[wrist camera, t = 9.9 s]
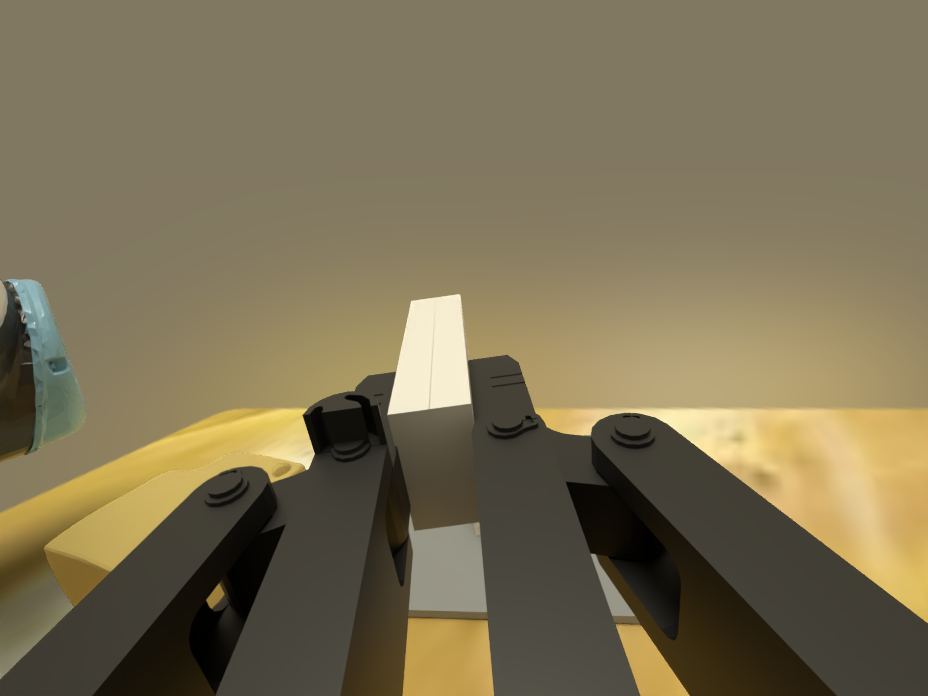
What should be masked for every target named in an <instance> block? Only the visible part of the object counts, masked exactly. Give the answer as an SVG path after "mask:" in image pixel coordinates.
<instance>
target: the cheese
mask: <svg viewBox="0 0 928 696" xmlns="http://www.w3.org/2000/svg"><path fill="white" fill-rule="evenodd" d="M245 466H255V467H260V468H262V469H263V470H265V471H266V472H267V473H268V475H269V478H270V481H271V483H272V482H275V481H278V480H281V479H284V478H287V477H290V476H293V475H296V474H298V473H301V472H303V471H306V469H305V467H304V465H302V464H300V463H294V462H291V461H286V460H281V459H276V458H272V457H267V456H262V455H256V454H248V453H241V452H231V453H228V454H225V455H223V456H222V457H220V458H218V459H217V460H215V461H213V462H211V463H209V464H207V465H205V466H202V467H200V468H197V469H194V470H190V471H180V470H172V471H167V472H164V473H162V474H160V475H158V476H156V477H154V478H152V479H151V480H149V481H147V482H145V483H144V484H142V485H140V486H139V487H137V488H135V489H133V490H132V491H130V492H128V493H126V494H125V495H123V496H121V497H119V498H117V499H115V500H114V501H112V502H110V503H108V504H107V505H105V506H103V507H101V508H99V509H98V510H96V511H94V512H93V513H91V514H89V515H88V516H86V517H85V518H83V519H81V520H80V521H78V522H77V523H75V524H74V525H72V526H71V527H70V528H68V529H67V530H65V531H64V532H62V533H61V534H60V535H58V536H57V537H56V538H54V539H53V540H52V541H50V542H49V543H48V544H47V545H46V546H45V547H44V552H45V554H46V557H47V560H48V562H49V565H50V567H51V569H52V571H53V573H54V575H55V577H56V579H57V581H58V583H59V585H60V586H61V588H62V590H63V591H64V593H65V594H66V596H67V597H68V599H69V600H70V602H71V603H72V604H73V605H74V607H75V606H76V605H77V604H78V603H79V602H80V601H81V600H82V599H83V598H84V597H85V596H86V595H87V594H88V593H89V592H90V591H92V590H93V589H94V588H95V587H96V586H97V585H98V584H99V583H100V582H101V581H102V580H103V579H104V578H105V577H106V576H107V575H108V574H109V573H110V572H111V571H112V570H113V569H114V568H115V567H116V566H117V565H118V564H119V563H120V562H121V561H122V560H123V559H124V558H125V557H126V556H127V555H128V554H129V553H130V552H131V551H132V550H133V549H135V548H136V547H137V546H138V545H139V544H140V543H141V542H142V541H143V540H144V539H145V538H146V537H147V536H148V535H149V534H150V533H151V532H152V531H153V530H154V529H155V528H156V527H157V526H158V525H159V524H160V523H161V522H162V521H163V520H164V519H165V518H166V517H167V516H168V515H169V514H170V513H171V512H172V511H173V510H174V509H175V508H177V507H178V506H179V505H180V504H181V503H182V502H183V501H184V500H185V499H186V498H187V497H188V496H189V495H190V494H191V493H192V492H193V491H194V490H195V489H196V488H198V487H199V486H200V485H201V484H203V483H204V482H205V481H207V480H208V479H210V478H212V477H214V476H216V475H218V474H219V473H220V472H223V471H226V470H230V469H232V468H236V467H245ZM223 596H224V592H223V590H222V588H221V586H220V584H218V585H217V587H216V588H215V589H214V591H213V592H212V593H211V595H210V596H209V597H208V598H207V600H206V601H207V603H208V605H209V607H210V608H211V609H212V608H213V607H214V606H215V605H216V604H217V603H218V602H219V601H220V600H221V598H222V597H223Z"/></svg>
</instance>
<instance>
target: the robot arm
mask: <svg viewBox="0 0 928 696" xmlns="http://www.w3.org/2000/svg"><path fill="white" fill-rule="evenodd" d="M86 417H87V410H86V406H85V403H84V400H83V397H82V394H81V391H80V388H79V385H78V382H77V379H76V376H75V373H74V371H73V368H72V365H71V362H70V359H69V356H68V354H67V351H66V348H65V345H64V343H63V340H62V337H61V334H60V332H59V329H58V326H57V323H56V321H55V318H54V315H53V312H52V310H51V307H50V304H49V302H48V299H47V296H46V294H45V291H44V289H43V287H42V286H41V285H40V283H38V282H37V281H33V280H30V279H29V280H17V279H11V280H6V281H4V283H3V282H2V281H1V279H0V463H1V462H3V461H6V460H9V459H12V458H15V457H18V456H21V455H24V454H25V455H27V454H31V453H34V452H35V451H37V450H38V449H39V447H42V446H44V445H47V444H49V443H51V442H54V441H57V440H59V439H61V438H64V437H66V436H69V435H71V434H73V433H75V432H76V431H78V430H79V429H80V428H81V427H82V425H83V424H84V422H85V420H86ZM303 418H304V421H305V424H306V427H307V430H308V433H309V437H310V440H311V443H312V446H313V449H314V452H315V455H314V458H313V460H312V463H311V465H310V467H309V469H308V470H306V471H303V472H301V473H298V474H296V475H293V476H290V477H287V478H284V479H281V480H278V481H275V482H272V483H271V481H270V478H269V475H268V473H267V472H266V471H265V470H263V469H262V468H260V467H255V466H245V467H236V468H232V469H230V470H226V471H223V472H220V473H219V474H218V475H216V476H214V477H212V478H210V479H208V480H207V481H205V482H204V483H203V484H201V485H200V486H199V487H198V488H196V489H195V490H194V491H193V492H192V493H191V494H190V495H189V496H188V497H187V498H186V499H185V500H184V501H183V502H182V503H181V504H180V505H179V506H178V507H177V508H175V509H174V510H173V511H172V512H171V513H170V514H169V515H168V516H167V517H166V518H165V519H164V520H163V521H162V522H161V523H160V524H159V525H158V526H157V527H156V528H155V529H154V530H153V531H152V532H151V533H150V534H149V535H148V536H147V537H146V538H145V539H144V540H143V541H142V542H141V543H140V544H139V545H138V546H137V547H136V548H135V549H133V550H132V551H131V552H130V553H129V554H128V555H127V556H126V557H125V558H124V559H123V560H122V561H121V562H120V563H119V564H118V565H117V566H116V567H115V568H114V569H113V570H112V571H111V572H110V573H109V574H108V575H107V576H106V577H105V578H104V579H103V580H102V581H101V582H100V583H99V584H98V585H97V586H96V587H95V588H94V589H93V590H92V591H90V592H89V593H88V594H87V595H86V596H85V597H84V598H83V599H82V600H81V601H80V602H79V603H78V604H77V605H76V606H75V607H74V608H73V609H72V610H71V611H70V612H69V613H68V614H67V615H66V616H65V617H64V618H63V619H62V620H61V621H60V622H59V623H58V624H57V625H56V626H55V627H54V628H53V629H52V630H51V631H50V632H49V633H47V634H46V635H45V636H44V637H43V638H42V639H41V640H40V641H39V642H38V643H37V644H36V645H35V646H34V647H33V648H32V649H31V650H30V651H29V652H28V653H27V654H26V655H25V656H24V657H23V658H22V659H21V660H20V661H19V662H18V663H17V664H16V665H15V666H14V667H13V668H12V669H11V670H10V671H9V672H8V673H7V674H6V675H4V676H3V677H2V678H1V679H0V696H402V694H403V680H404V667H405V654H406V640H407V627H408V613H409V600H410V587H411V573H412V560H413V549H412V543H411V539H410V535H409V531H408V530H409V520H410V515H411V519H412V523H413V527H414V531H417V530H425V529H433V528H440V527H448V526H455V525H463V524H471V523H478V522H479V524H480V536H481V547H482V559H483V570H484V582H485V594H486V605H487V617H488V628H489V640H490V652H491V663H492V675H493V686H494V696H640V694H639V691H638V688H637V685H636V682H635V679H634V676H633V673H632V671H631V668H630V665H629V662H628V659H627V656H626V653H625V651H624V648H623V645H622V642H621V639H620V636H619V633H618V631H617V628H616V625H615V622H614V619H613V616H612V613H611V611H610V608H609V605H608V602H607V599H606V596H605V593H604V591H603V588H602V585H601V582H600V579H599V576H598V573H597V571H596V568H595V565H594V562H593V559H592V556H591V554H595V555H596V557H597V559H598V562H599V564H600V566H601V567H602V568H603V570H604V571H605V573H606V574H607V576H608V577H609V579H610V580H611V582H612V583H613V584H614V586H615V587H616V589H617V590H618V592H619V593H620V595H621V596H622V598H623V599H624V600H625V602H626V603H627V605H628V606H629V608H630V609H631V611H632V612H633V614H634V615H635V616H636V618H637V619H638V621H639V622H640V624H641V625H642V627H643V628H644V630H645V631H646V632H647V634H648V635H649V637H650V638H651V640H652V641H653V643H654V644H655V646H656V647H657V648H658V650H659V651H660V653H661V654H662V656H663V657H664V659H665V660H666V662H667V663H668V664H669V666H670V667H671V669H672V670H673V672H674V673H675V675H676V676H677V678H678V679H679V680H680V682H681V683H682V685H683V686H684V688H685V689H686V691H687V692H688V694H689V695H690V696H928V623H927V622H925V621H924V620H923V619H921V618H920V617H919V616H917V615H916V614H915V613H913V612H912V611H911V610H910V609H908V608H907V607H906V606H904V605H903V604H902V603H900V602H899V601H898V600H896V599H895V598H894V597H893V596H891V595H890V594H889V593H887V592H886V591H885V590H883V589H882V588H881V587H879V586H878V585H877V584H875V583H874V582H873V581H872V580H870V579H869V578H868V577H866V576H865V575H864V574H862V573H861V572H860V571H859V570H857V569H856V568H855V567H853V566H852V565H851V564H849V563H848V562H847V561H845V560H844V559H843V558H842V557H840V556H839V555H838V554H836V553H835V552H834V551H832V550H831V549H830V548H828V547H827V546H826V545H825V544H823V543H822V542H821V541H819V540H818V539H817V538H815V537H814V536H813V535H811V534H810V533H809V532H808V531H806V530H805V529H804V528H802V527H801V526H800V525H798V524H797V523H796V522H794V521H793V520H792V519H791V518H789V517H788V516H787V515H785V514H784V513H783V512H781V511H780V510H779V509H777V508H776V507H775V506H774V505H772V504H771V503H770V502H768V501H767V500H766V499H764V498H763V497H762V496H760V495H759V494H758V493H757V492H755V491H754V490H753V489H751V488H750V487H749V486H747V485H746V484H745V483H743V482H742V481H741V480H740V479H738V478H737V477H736V476H734V475H733V474H732V473H730V472H729V471H728V470H726V469H725V468H724V467H723V466H721V465H720V464H719V463H717V462H716V461H715V460H713V459H712V458H711V457H709V456H708V455H707V454H706V453H704V452H703V451H702V450H700V449H699V448H698V447H696V446H695V445H694V444H692V443H691V442H690V441H689V440H687V439H686V438H685V437H683V436H682V435H681V434H679V433H678V432H677V431H675V430H674V429H673V428H672V427H670V426H669V425H668V424H666V423H664V422H662V421H660V420H659V419H657V418H655V417H651V416H647V415H643V414H638V413H622V414H615V415H610V416H608V417H605V418H603V419H601V420H599V421H598V422H597V423H596V424H595V425H594V426H593V427H592V432H591V436H580V435H570V434H563V433H560V432H556V431H553V430H551V429H549V428H547V427H546V425H545V422H544V421H543V420H542V418H541V417H540V416H539V415H538V414H536V413H535V411H534V408H533V405H532V402H531V399H530V396H529V393H528V390H527V387H526V384H525V381H524V378H523V375H522V372H521V369H520V366H519V363H518V362H517V361H515V360H514V359H512V358H511V357H509V356H508V355H504V356H496V357H489V358H482V359H474V360H470V359H469V352H468V346H467V339H466V331H465V324H464V317H463V311H462V304H461V297H460V295H459V294H458V295H451V296H444V297H438V298H430V299H423V300H416V301H411V305H410V310H409V315H408V320H407V325H406V329H405V334H404V338H403V343H402V348H401V352H400V358H399V362H398V367H397V371H396V372H391V373H384V374H378V375H370V376H367V377H366V378H365V379H364V380H363V381H362V382H361V383H360V384H359V385H358V386H357V387H356V389H355V391H354V392H353V391H352V392H344V393H339V394H335V395H332V396H329V397H327V398H325V399H322V400H320V401H318V402H317V403H315V404H314V405H312V406H311V407H309V408H308V410H307V411H306V412H305V413H304V414H303ZM218 584H220V586H221V588H222V590H223V592H224V596H223V597H222V598H221V600H220V601H219V602H218V603H217V604H216V605H215V606H214V607H213V608H212V609H211V608H210V607H209V605H208V603H207V601H206V600H207V598H208V597H209V596H210V595H211V593H212V592H213V591H214V589H215V588H216V587H217V585H218Z"/></svg>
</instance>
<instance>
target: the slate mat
mask: <svg viewBox="0 0 928 696" xmlns="http://www.w3.org/2000/svg"><path fill="white" fill-rule="evenodd" d="M584 436H591V435H584ZM408 531H409V535H410V539H411V543H412V549H413V560H412V573H411V587H410V600H409V613H408V617H433V618H466V619H488V617H487V605H486V594H485V582H484V570H483V559H482V547H481V536H480V535H477V536H476V534H475V528H474V523H471V524H463V525H455V526H448V527H440V528H433V529H425V530H417V531H414V527H413V523H412V519H411V515H410V520H409V530H408ZM591 556H592V559H593V562H594V565H595V568H596V571H597V573H598V576H599V579H600V582H601V585H602V588H603V591H604V593H605V596H606V599H607V602H608V605H609V608H610V611H611V613H612V616H613V619H614V622H615V623H628V624H640V622H639V621H638V619H637V618H636V616H635V615H634V614H633V612H632V611H631V609H630V608H629V606H628V605H627V603H626V602H625V600H624V599H623V598H622V596H621V595H620V593H619V592H618V590H617V589H616V587H615V586H614V584H613V583H612V582H611V580H610V579H609V577H608V576H607V574H606V573H605V571H604V570H603V568H602V567H601V566H600V564H599V562H598V559H597V557H596V555H595V554H591Z"/></svg>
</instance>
